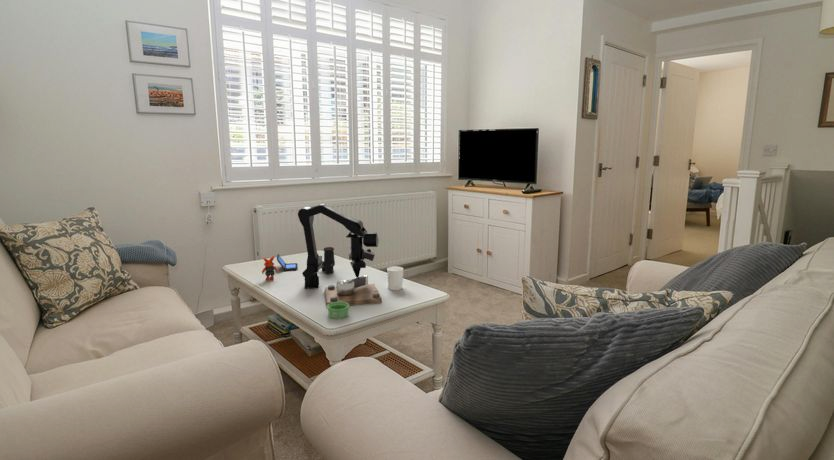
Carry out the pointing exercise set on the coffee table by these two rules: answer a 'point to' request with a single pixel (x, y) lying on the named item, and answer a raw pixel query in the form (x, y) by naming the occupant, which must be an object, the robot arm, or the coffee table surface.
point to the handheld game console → (286, 266)
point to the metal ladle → (350, 285)
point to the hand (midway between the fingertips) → (357, 277)
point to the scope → (328, 260)
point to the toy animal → (269, 268)
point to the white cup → (395, 277)
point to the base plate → (354, 295)
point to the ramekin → (338, 310)
